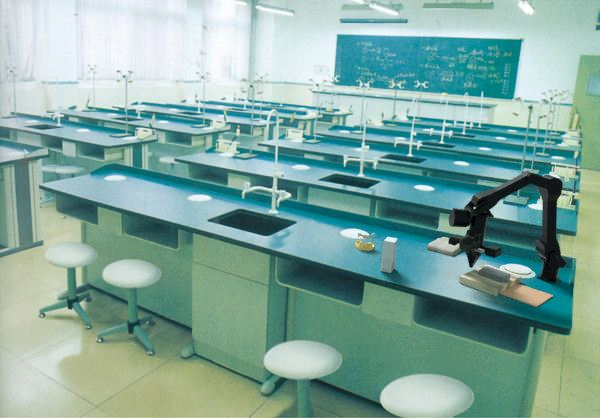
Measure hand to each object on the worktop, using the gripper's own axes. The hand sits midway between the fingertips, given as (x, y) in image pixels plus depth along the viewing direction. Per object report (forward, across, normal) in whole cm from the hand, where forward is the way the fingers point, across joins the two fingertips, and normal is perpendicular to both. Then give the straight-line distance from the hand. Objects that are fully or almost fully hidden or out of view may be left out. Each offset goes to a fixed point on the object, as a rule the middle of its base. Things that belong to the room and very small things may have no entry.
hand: (471, 267), depth 186 cm
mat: (+3, +21, 0) cm, 22 cm away
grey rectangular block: (+1, +9, 0) cm, 9 cm away
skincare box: (+3, -22, -22) cm, 31 cm away
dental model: (+3, -43, -10) cm, 44 cm away
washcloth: (+4, -22, +21) cm, 31 cm away
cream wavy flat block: (+3, +8, 0) cm, 9 cm away
